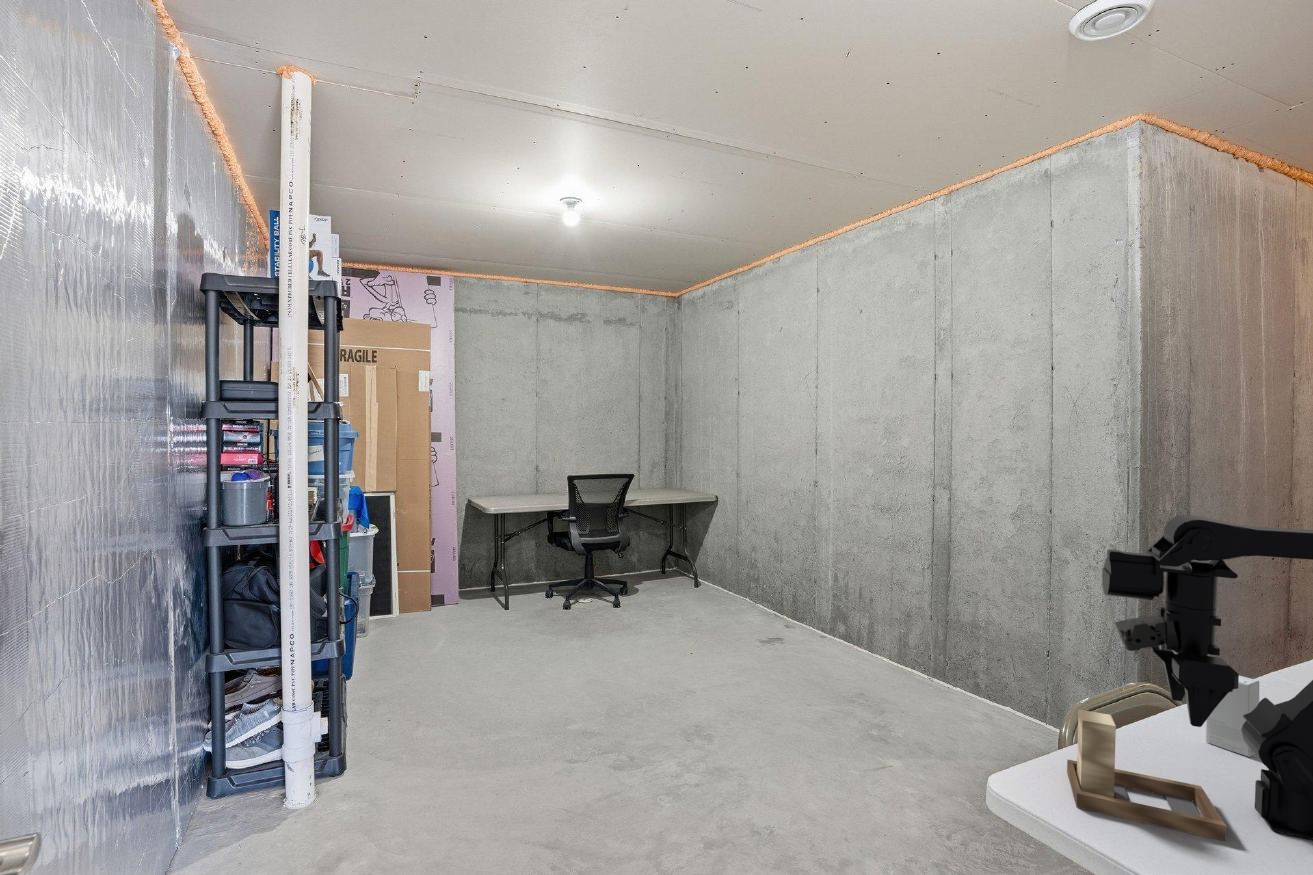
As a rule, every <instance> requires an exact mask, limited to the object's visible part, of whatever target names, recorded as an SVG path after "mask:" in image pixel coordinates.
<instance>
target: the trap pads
mask: <svg viewBox="0 0 1313 875" xmlns="http://www.w3.org/2000/svg"><path fill="white" fill-rule="evenodd" d="M1164 797H1165V800H1166V802H1167V804H1168V806H1169V808H1170V810H1171V811H1176V812H1180V813H1185V814H1190V815H1194V816H1199V817H1202V815H1201V813H1200V811H1199V810H1198V808H1196V807H1197V806H1196V804H1195V803H1194V801H1192V800H1190V799H1185V798H1181V797H1176V796H1171V795H1166V794H1165V795H1164ZM1114 798H1116V799H1120V800H1125V801H1130V798H1129V797H1128V794H1127V792H1126V789H1125V787H1124V786H1123V785H1118V784H1114Z"/></svg>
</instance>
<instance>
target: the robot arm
mask: <svg viewBox="0 0 1313 875" xmlns="http://www.w3.org/2000/svg"><path fill="white" fill-rule="evenodd" d="M1245 557H1268V558H1269V557H1271V558H1285V559H1286V558H1287V559H1297V560H1298V559H1300V560H1309V561H1310V560H1312V561H1313V529H1302V528H1284V527H1282V528H1281V527H1268V526H1267V527H1264V526H1263V527H1262V526H1248V525H1241V524H1236V523H1231V522H1228V521H1224V520H1219V519H1214V518H1213V519H1212V518H1209V517H1204V516H1199V515H1198V516H1197V515H1195V514H1194V515H1192V514H1180V515H1176V516H1174V517H1172V518H1171V519H1170V520H1168V521H1167V523H1166V524H1165V525H1164V529H1163V535H1162V536H1161V537H1160V538H1159V539H1158V540H1156V541H1155V542H1154V543H1153V544H1152V545H1151V546H1150V547H1149V548H1148V549H1147V550H1146V551H1145V553H1141V552H1132V551H1131V552H1130V551H1122V550H1118V549H1111V548H1109V549H1107V551H1106V558H1105V560H1104V566H1103V567H1102V570H1101V571H1102V573H1101V574H1102V575H1101V579H1102V580H1101V581H1102V583H1101V584H1102V589H1103V593H1104V595H1105V596H1108V597H1117V598H1127V599H1135V600H1146V601H1153V600H1154V598H1159V597H1160V595H1162V594H1163V592H1164V591H1165V592H1164V594H1165V595H1164V604H1160V606H1158V608H1157V614H1155V615H1151V616H1147V615H1146V616H1140V617H1135V618H1134V617H1133V618H1130V619H1128V618H1127V619H1123V620H1118V621H1115V623H1114V624H1115V628H1116V629H1117V633H1118V634H1119V638H1120V640H1121V642H1122V644H1123V645H1124V647H1125V649H1126V650H1127V651H1128V652H1129V651H1130V652H1135V651H1140V650H1141V649H1145V648H1146V649H1147V648H1150V649H1151V650H1152V651H1153V653H1154V654H1156V656H1157V657H1159V659H1160V660H1161V661H1162V664H1163V668H1164V671H1165V676H1166V680H1167V685H1168V689H1169V693H1170V696H1171V699H1172V700H1173V701H1175V702H1181V701H1183V699H1184V698H1185V701H1186V705H1187V712H1188V718H1189V724H1190V725H1191V726H1192V727H1198V728H1201V727H1203V725H1204V724H1205V723H1206V720H1207V718H1208V717H1209V716H1210V714H1211V713H1212V712H1213V710H1214V709H1215V708H1216V707H1217V705H1218V704H1219V703H1220V702H1221V701H1222V700H1223V698H1224V697H1225V696H1226V695H1227V694H1228V693H1229V692H1232V691H1233V689H1238V682H1239V676H1240V673H1238V672H1237V671H1236V670H1235V669H1234V668H1233V667H1232V666H1231V665H1229V664H1228V662H1226V661H1225V660H1224V659H1223V658H1222V657H1220V656H1221V649H1220V647H1219V646H1217V644H1216V631H1217V630H1216V629H1217V627H1221V626H1222V618H1221V617H1220V616H1218V615H1217V605H1218V604H1217V603H1218V581H1219V580H1218V579H1219V578H1225V579H1234V580H1235V579H1237V578H1238V577H1239V575H1238V574H1237V573H1236V572H1235V571H1233V570H1232V569H1231V568H1230V567H1229V566H1228V565H1227V563H1226V562H1225V560H1233V559H1238V558H1245ZM1207 561H1208V562H1207ZM1164 574H1165V577H1164ZM1164 578H1165V579H1164ZM1164 587H1165V590H1164ZM1209 655H1210V656H1209ZM1211 655H1212V656H1211ZM1243 717H1244V718H1245V719H1246V721H1245V723H1244V724H1243V726H1242V729H1241V731H1242V735H1243V739H1244V741H1245V743H1246V744H1247V746H1248V747H1249V748H1250V749H1251V750H1252V751H1253V753H1254V754H1255V755H1254V756H1256V757H1257V758H1258V759H1259V761H1260V762H1261V763H1262V764H1263V765H1264V767H1266V768H1267V769H1263V768H1261V769H1260V780H1259V779H1256V780H1255V788H1254V789H1255V791H1254V806H1253V807H1254V809H1255V810H1256V812H1257V813H1258V814H1259V815H1260V817H1261V818H1262V819H1263V820H1264V822H1265V823H1266V825H1267V826H1268V827H1269V829H1270V830H1272V831H1274V832H1276V833H1281V834H1286V835H1291V836H1295V837H1300V838H1305V839H1309V840H1313V679H1312V680H1311V681H1309V683H1308V684H1306V685H1305V686H1304V688H1303V689H1301V690H1300V691H1299V692H1298V693H1297V694H1296V695H1295V696H1294V697H1293V698H1291V699H1289V700H1287V701H1283V702H1279V703H1276V704H1275V703H1273V702H1272V701H1271V700H1270V699H1269V698H1267V697H1264V698H1262V699H1261V700H1259V704H1258V705H1257V707H1256V708H1255V709H1254V710H1253V711H1251V712H1250V713H1248V714H1245V715H1243Z"/></svg>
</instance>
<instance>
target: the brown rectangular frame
mask: <svg viewBox="0 0 1313 875" xmlns="http://www.w3.org/2000/svg"><path fill="white" fill-rule="evenodd" d="M1066 762H1067V763H1066V772H1067V773H1066V774H1067V776H1068V781H1069V784H1070V788H1071V792H1072V794H1073V795H1072V796H1073V798H1074V802H1075V808H1078V809H1082V810H1086V811H1087V810H1088V811H1091V812H1094V813H1100V814H1104V815H1108V816H1113V817H1117V818H1122V819H1127V820H1131V821H1135V822H1139V823H1144V824H1147V825H1148V824H1149V825H1152V826H1156V827H1163V828H1167V829H1170V830H1176V831H1179V832H1183V833H1187V834H1192V835H1197V836H1201V837H1206V838H1211V839H1215V840H1219V841H1223V842H1226V840H1227V825H1226V824H1225V822H1224V820H1223V819H1222V817H1221V816H1220V814H1219V812H1218V810H1217V809H1216V807H1215V806H1214V804H1213V803H1212V802H1211V800H1210V798H1209V796H1208V794H1207V793H1206V792H1205V790H1204V788H1203V787H1202V786H1201V785H1199V784H1192V783H1187V782H1183V781H1177V780H1172V779H1168V778H1163V777H1157V776H1154V775H1153V776H1152V775H1147V774H1143V773H1138V772H1133V771H1127V770H1122V769H1117V768H1115V773H1114V784H1118V785H1123V786H1124V788H1128V789H1133V790H1138V791H1143V792H1147V793H1152V794H1157V795H1162V796H1165V794H1166V795H1171V796H1176V797H1181V798H1185V799H1190V800H1192V802H1193V803H1194V805H1195V807H1197V810H1198V812H1199V813H1200V815H1201V817H1199V816H1194V815H1190V814H1185V813H1180V812H1176V811H1172V810H1171V809H1165V808H1162V807H1157V806H1152V805H1148V804H1143V803H1138V802H1133V801H1130V800H1129V801H1125V800H1120V799H1116V798H1115V797H1114V798H1111V797H1106V796H1102V795H1097V794H1092V793H1088V792H1083V791H1081V789H1080V786H1079V783H1078V779H1077V760H1072V759H1067V761H1066Z"/></svg>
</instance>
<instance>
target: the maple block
mask: <svg viewBox="0 0 1313 875" xmlns="http://www.w3.org/2000/svg"><path fill="white" fill-rule="evenodd" d="M1077 714H1078V719H1077V721H1078V722H1077V750H1076V751H1077V753H1076V754H1077V755H1076V756H1077V757H1076V761H1077V779H1078V783H1079V786H1080V789H1081V791H1083V792H1088V793H1092V794H1097V795H1102V796H1106V797H1111V798H1115V796H1114V773H1115V769H1116V768H1115V767H1116V764H1115V763H1116V760H1115V759H1116V737H1117V736H1116V734H1117V732H1116V731H1117V726H1116V724H1115V722H1114V719H1113V717H1112V715H1111V714H1107V713H1101V712H1095V711H1090V710H1084V709H1078V712H1077Z"/></svg>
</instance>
